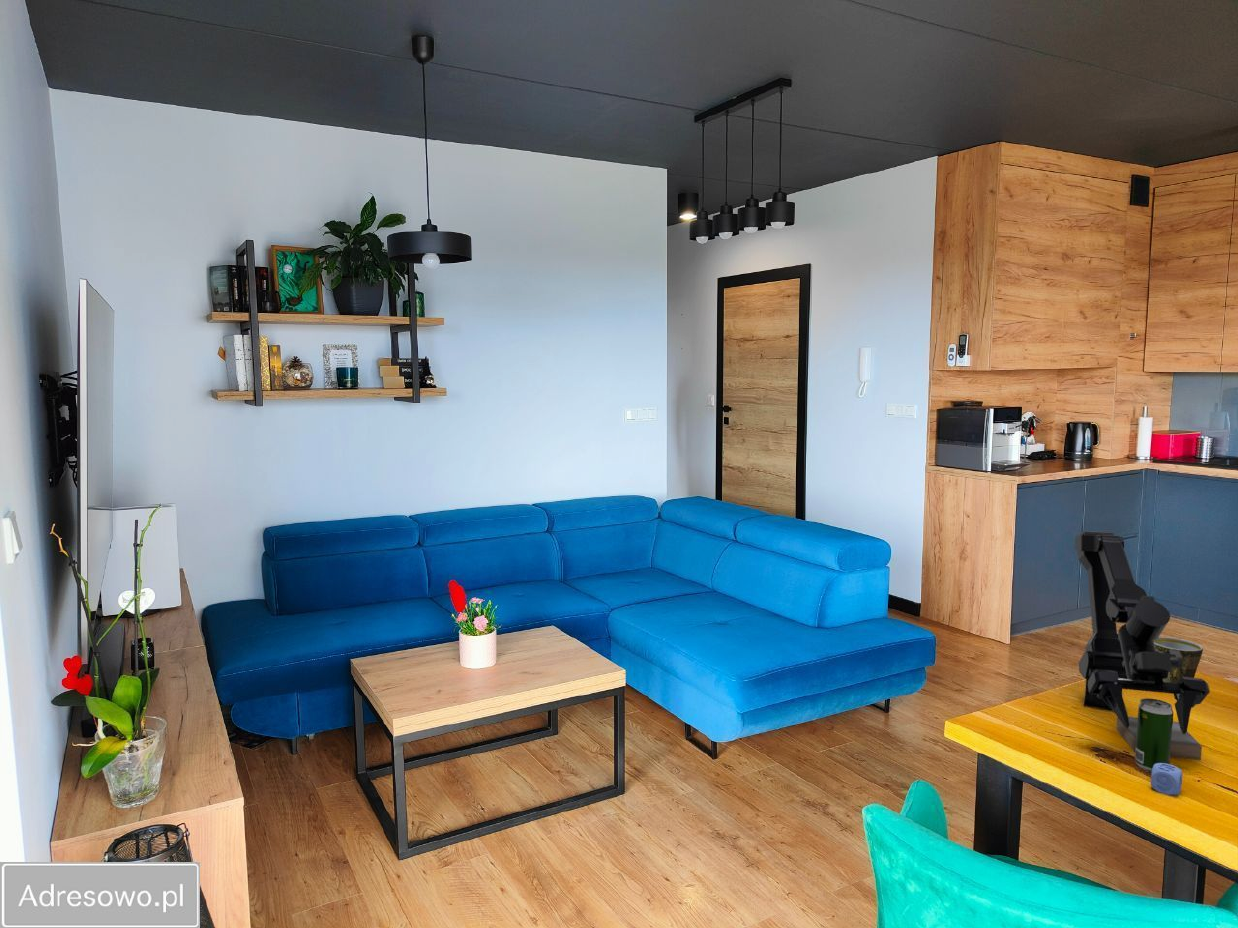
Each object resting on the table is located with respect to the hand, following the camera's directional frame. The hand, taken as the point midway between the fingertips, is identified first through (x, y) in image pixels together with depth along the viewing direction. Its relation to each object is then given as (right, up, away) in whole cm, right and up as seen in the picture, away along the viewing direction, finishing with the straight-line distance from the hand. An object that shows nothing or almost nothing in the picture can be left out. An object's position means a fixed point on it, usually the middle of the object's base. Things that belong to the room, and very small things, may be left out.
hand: (1155, 729), depth 149 cm
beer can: (0, -7, +2) cm, 8 cm away
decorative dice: (-3, -8, -7) cm, 11 cm away
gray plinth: (+7, -6, +11) cm, 15 cm away
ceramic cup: (+32, -4, +42) cm, 53 cm away
